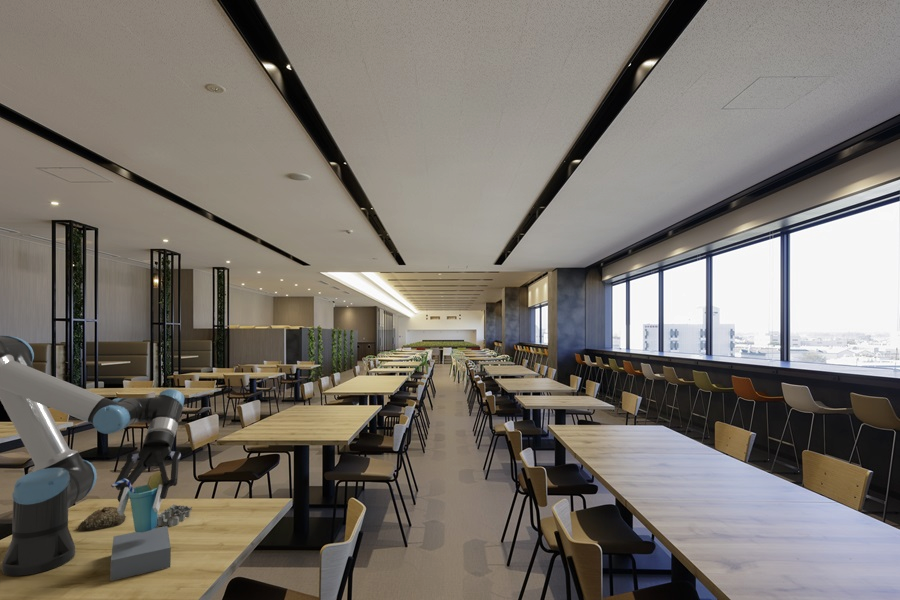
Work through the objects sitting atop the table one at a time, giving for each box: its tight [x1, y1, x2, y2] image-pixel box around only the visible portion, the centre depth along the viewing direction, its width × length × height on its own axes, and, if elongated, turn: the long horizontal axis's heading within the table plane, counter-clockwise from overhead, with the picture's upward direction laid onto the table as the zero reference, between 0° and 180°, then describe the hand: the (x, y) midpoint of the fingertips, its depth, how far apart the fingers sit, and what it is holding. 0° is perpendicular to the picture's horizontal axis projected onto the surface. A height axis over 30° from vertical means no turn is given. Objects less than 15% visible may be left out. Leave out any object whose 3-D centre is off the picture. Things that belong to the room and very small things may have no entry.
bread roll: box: [77, 506, 127, 532], centre depth 162 cm, size 13×12×5 cm
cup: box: [110, 471, 170, 532], centre depth 135 cm, size 14×8×15 cm, turn 149°
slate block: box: [110, 525, 172, 582], centre depth 134 cm, size 13×17×5 cm
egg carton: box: [157, 504, 193, 528], centre depth 163 cm, size 11×8×4 cm
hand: (137, 511), depth 132 cm, fingers closed on cup, 8 cm apart
